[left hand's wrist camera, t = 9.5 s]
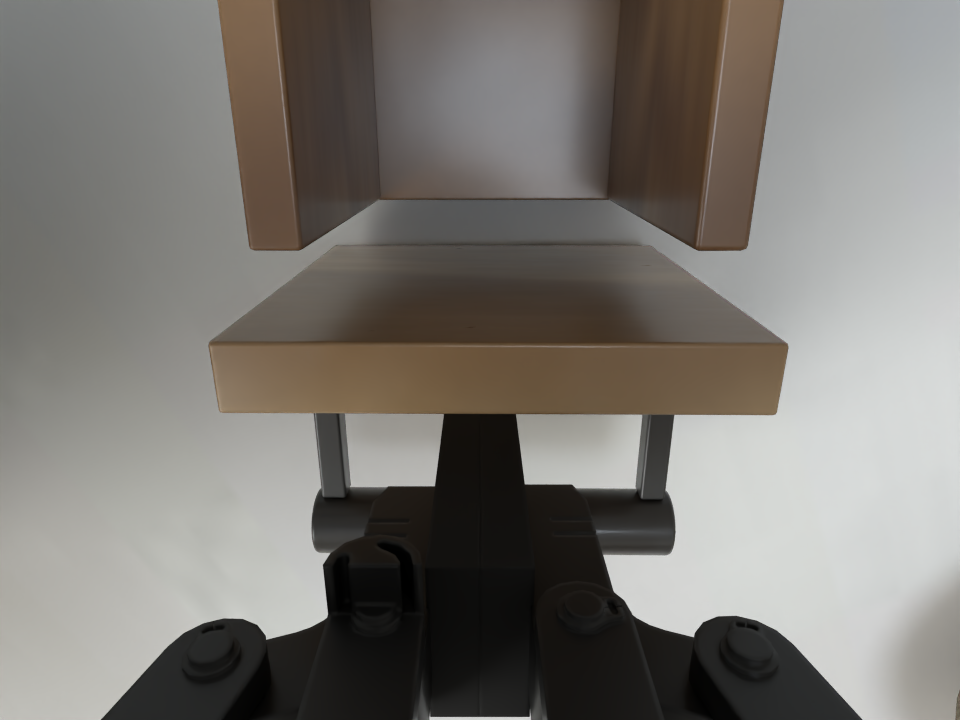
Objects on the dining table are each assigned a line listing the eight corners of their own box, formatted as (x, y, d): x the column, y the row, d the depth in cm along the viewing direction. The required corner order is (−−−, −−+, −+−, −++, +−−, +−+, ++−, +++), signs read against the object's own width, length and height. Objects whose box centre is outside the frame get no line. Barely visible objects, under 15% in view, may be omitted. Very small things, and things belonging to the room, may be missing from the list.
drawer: (630, 468, 20) (726, 696, 12) (352, 466, 20) (262, 691, 12) (727, -562, 12) (1205, -1938, 4) (269, -555, 12) (-155, -1886, 4)
